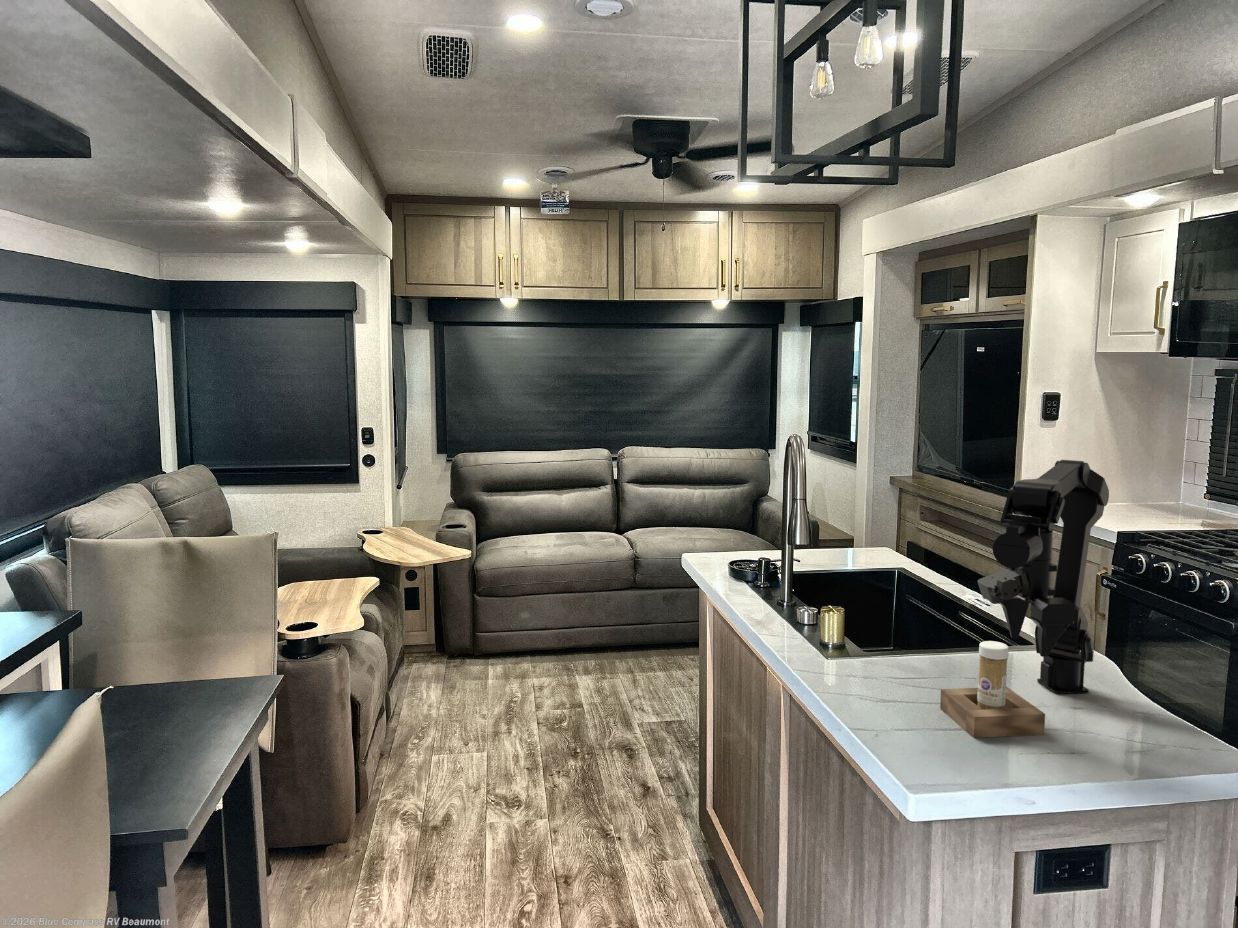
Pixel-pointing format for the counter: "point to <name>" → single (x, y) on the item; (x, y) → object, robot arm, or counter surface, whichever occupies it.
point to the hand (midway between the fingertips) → (1028, 646)
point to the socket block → (992, 714)
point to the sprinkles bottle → (992, 675)
